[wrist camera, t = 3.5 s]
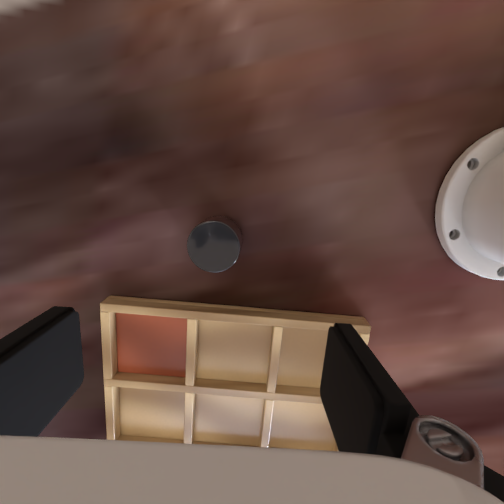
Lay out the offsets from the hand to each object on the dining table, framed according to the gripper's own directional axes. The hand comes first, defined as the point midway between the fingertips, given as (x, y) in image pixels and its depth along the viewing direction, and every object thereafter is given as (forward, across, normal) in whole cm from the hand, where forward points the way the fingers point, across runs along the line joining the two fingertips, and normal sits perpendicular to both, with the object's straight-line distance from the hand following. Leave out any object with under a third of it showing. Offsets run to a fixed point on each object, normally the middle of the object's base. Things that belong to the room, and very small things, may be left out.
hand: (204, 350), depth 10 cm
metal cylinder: (+14, +1, -2) cm, 15 cm away
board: (+15, -1, +17) cm, 22 cm away
